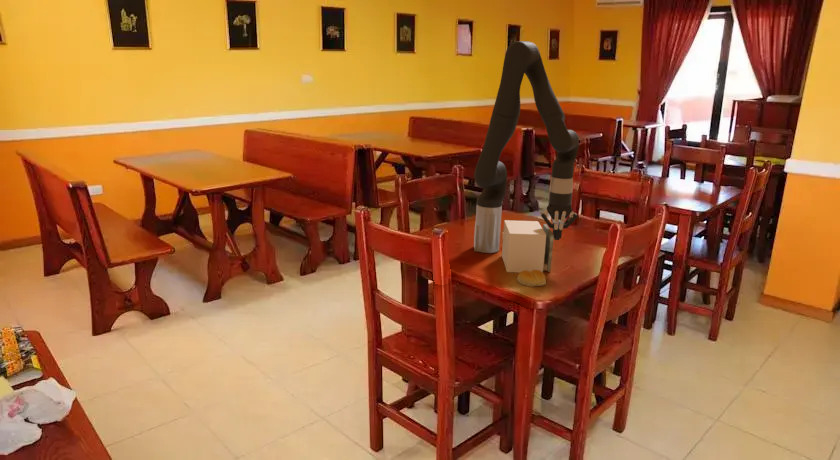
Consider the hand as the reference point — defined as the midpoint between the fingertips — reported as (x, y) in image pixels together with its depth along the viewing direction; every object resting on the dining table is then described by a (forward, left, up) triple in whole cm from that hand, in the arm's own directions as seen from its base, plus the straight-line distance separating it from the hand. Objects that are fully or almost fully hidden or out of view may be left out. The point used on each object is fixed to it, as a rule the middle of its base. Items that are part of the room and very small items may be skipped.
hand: (556, 239), depth 198 cm
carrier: (-9, 0, -9) cm, 13 cm away
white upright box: (-11, 0, -10) cm, 15 cm away
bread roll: (-10, -16, -10) cm, 22 cm away
